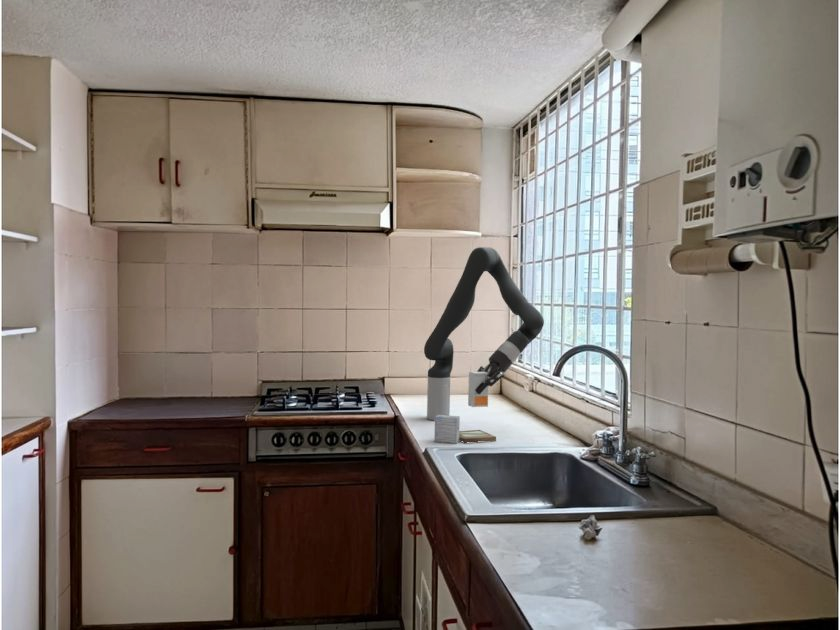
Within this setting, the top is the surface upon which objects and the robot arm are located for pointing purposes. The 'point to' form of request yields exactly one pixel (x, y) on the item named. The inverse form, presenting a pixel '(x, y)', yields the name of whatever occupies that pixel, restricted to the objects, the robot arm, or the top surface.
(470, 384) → the skincare box
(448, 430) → the medicine box
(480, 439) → the plate
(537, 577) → the top surface
